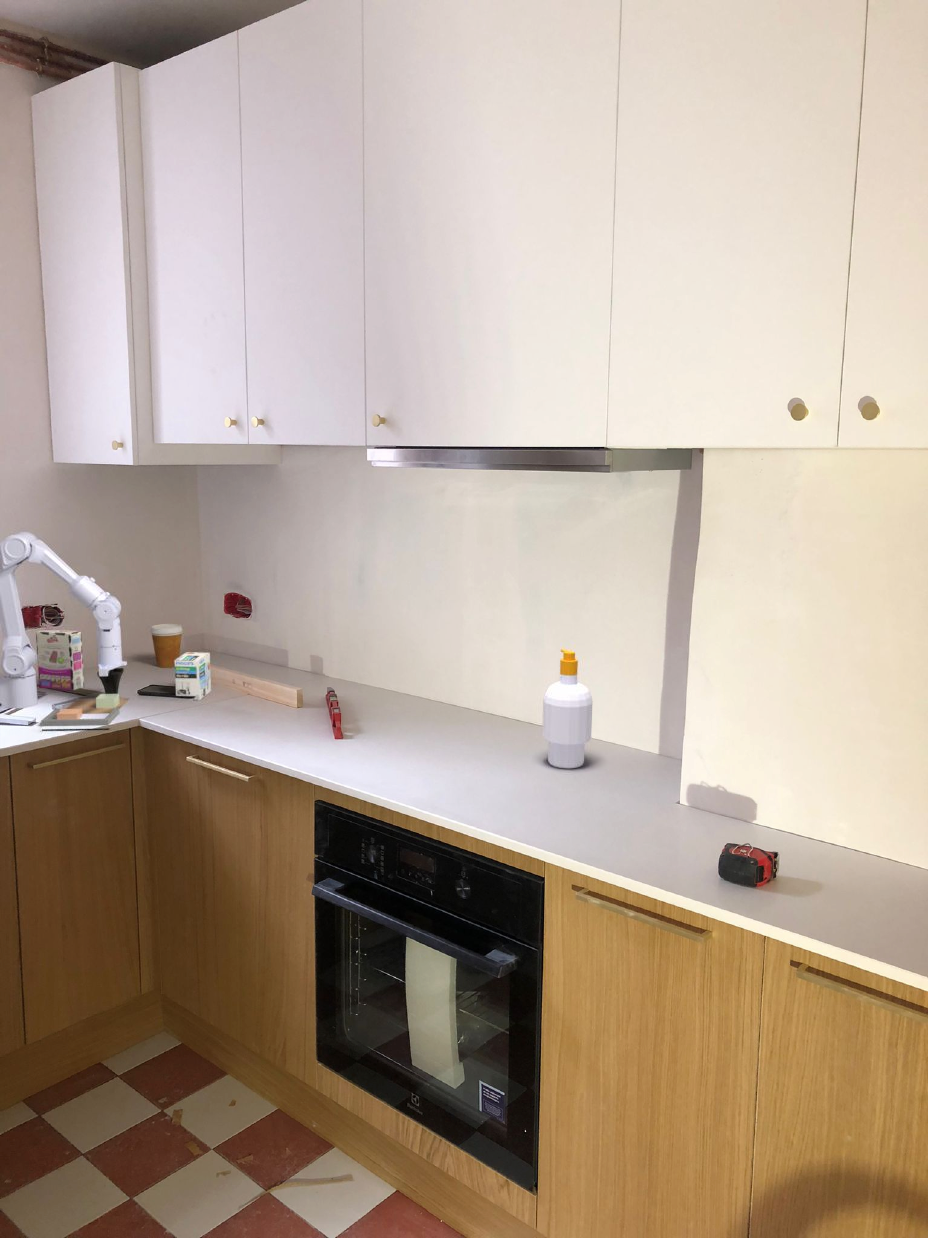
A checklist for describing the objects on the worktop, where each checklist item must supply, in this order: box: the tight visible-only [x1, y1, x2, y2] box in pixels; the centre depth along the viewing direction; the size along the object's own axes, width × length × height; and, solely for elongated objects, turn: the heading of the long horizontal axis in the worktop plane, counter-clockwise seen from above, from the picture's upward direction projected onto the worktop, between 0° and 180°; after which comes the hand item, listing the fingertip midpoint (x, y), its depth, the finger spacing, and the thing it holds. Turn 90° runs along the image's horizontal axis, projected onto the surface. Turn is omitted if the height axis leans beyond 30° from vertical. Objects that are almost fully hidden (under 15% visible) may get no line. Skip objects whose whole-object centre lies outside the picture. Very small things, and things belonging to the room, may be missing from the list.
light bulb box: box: [174, 651, 212, 701], centre depth 260 cm, size 11×7×11 cm, turn 179°
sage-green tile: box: [95, 693, 120, 708], centre depth 245 cm, size 4×4×2 cm
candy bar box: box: [35, 628, 85, 691], centre depth 263 cm, size 11×5×16 cm, turn 73°
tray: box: [40, 708, 120, 732], centre depth 232 cm, size 15×10×2 cm
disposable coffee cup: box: [149, 623, 184, 669], centre depth 295 cm, size 10×10×12 cm
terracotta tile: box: [56, 708, 83, 719], centre depth 233 cm, size 4×4×2 cm
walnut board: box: [65, 697, 130, 715], centre depth 245 cm, size 13×14×1 cm
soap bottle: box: [542, 648, 593, 770], centre depth 206 cm, size 10×10×24 cm
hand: (112, 697), depth 249 cm, fingers closed
